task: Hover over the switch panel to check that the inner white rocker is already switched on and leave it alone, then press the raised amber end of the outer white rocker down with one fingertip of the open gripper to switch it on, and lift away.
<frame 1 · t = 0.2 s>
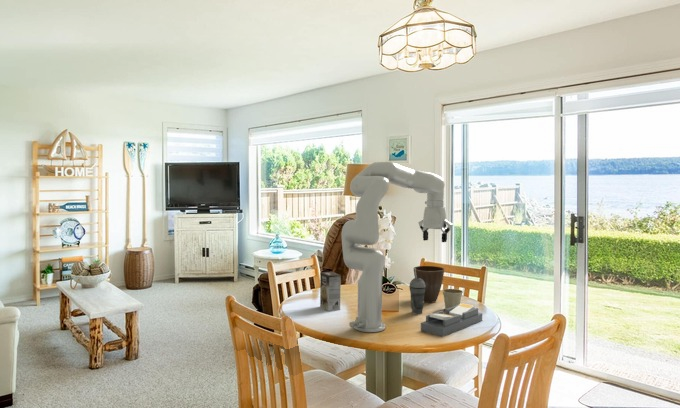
hand: (434, 241, 210), 31 cm above the table, tool pointing down, fingers open, 9 cm apart
switch panel: (452, 325, 185), on the table
coffee box: (330, 308, 209), on the table
outer rocker: (461, 310, 189), point 5 cm above the table, hinge at -11.5°
beverage cup: (417, 313, 203), on the table
plant pot: (428, 301, 225), on the table
inner rocker: (443, 316, 179), point 5 cm above the table, hinge at 11.5°
flower pot: (452, 310, 209), on the table
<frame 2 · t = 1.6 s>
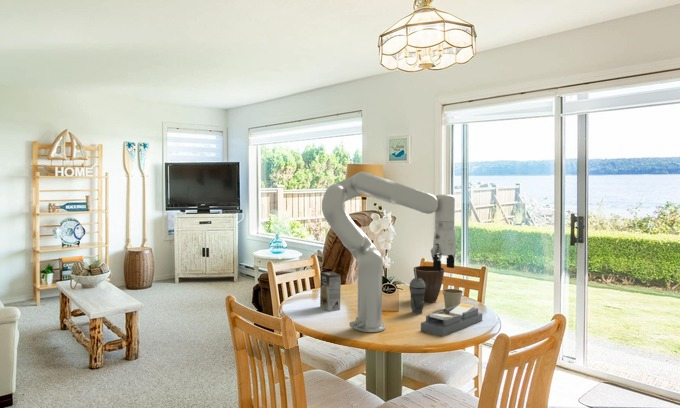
hand: (443, 269, 180), 23 cm above the table, tool pointing down, fingers open, 9 cm apart
nothing on the table moved.
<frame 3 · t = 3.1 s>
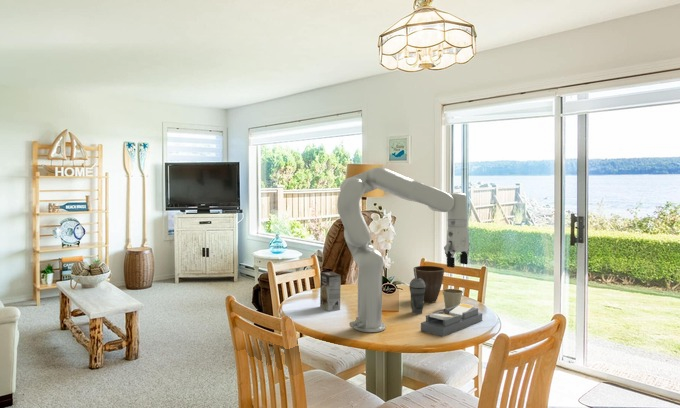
hand: (457, 265, 185), 24 cm above the table, tool pointing down, fingers open, 9 cm apart
nothing on the table moved.
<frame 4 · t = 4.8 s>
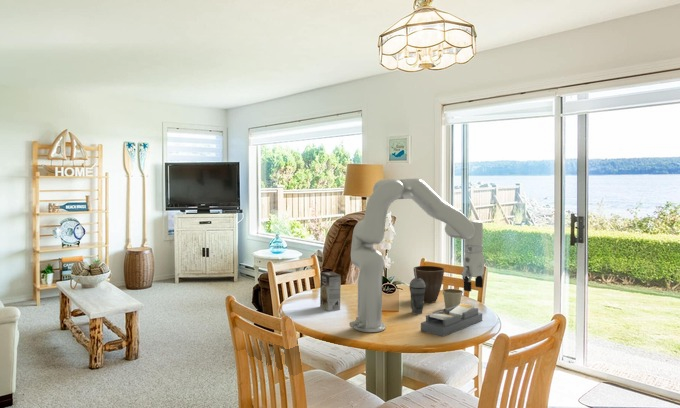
hand: (473, 288, 195), 12 cm above the table, tool pointing down, fingers open, 9 cm apart
nothing on the table moved.
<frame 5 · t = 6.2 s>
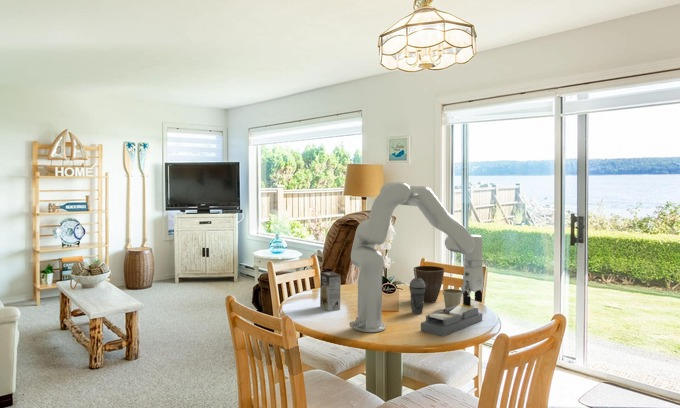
hand: (472, 303, 195), 6 cm above the table, tool pointing down, fingers open, 9 cm apart
outer rocker: (461, 310, 189), point 5 cm above the table, hinge at -11.5°, touching gripper
everything else where it was.
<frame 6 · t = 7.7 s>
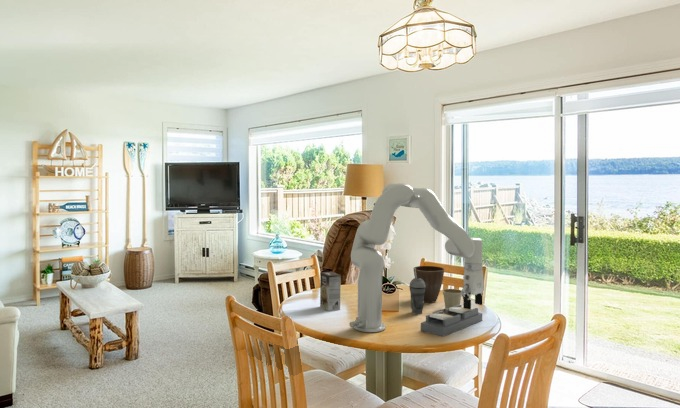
hand: (472, 306, 196), 5 cm above the table, tool pointing down, fingers open, 9 cm apart
outer rocker: (461, 310, 189), point 5 cm above the table, hinge at 9.0°, touching gripper
everything else where it was.
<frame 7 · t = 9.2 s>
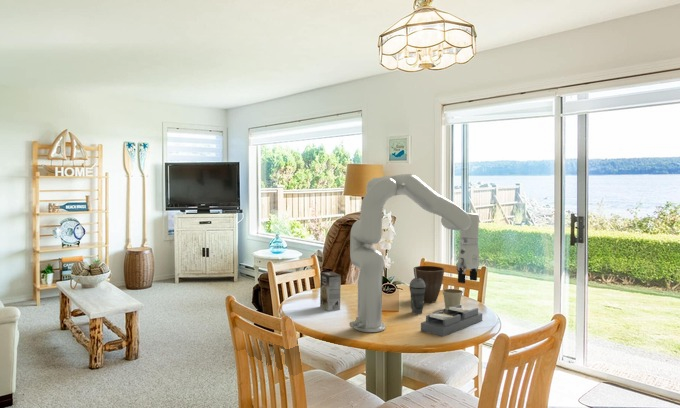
hand: (467, 281, 195), 16 cm above the table, tool pointing down, fingers open, 9 cm apart
outer rocker: (461, 310, 189), point 5 cm above the table, hinge at 14.5°, touching switch panel
everything else where it was.
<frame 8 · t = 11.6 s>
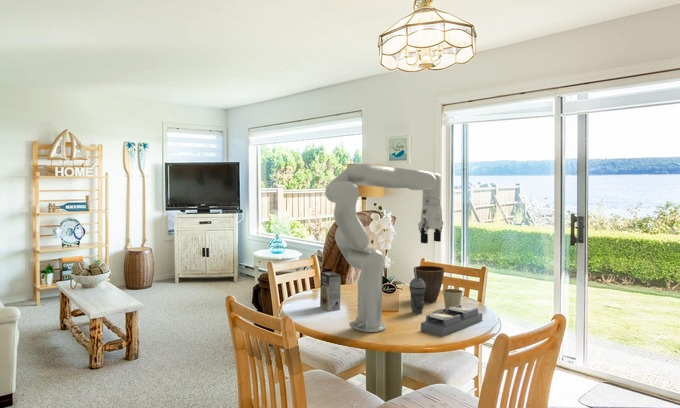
hand: (430, 242, 195), 32 cm above the table, tool pointing down, fingers open, 9 cm apart
nothing on the table moved.
at the end: outer rocker at +14° (first picture: -12°); inner rocker at +12° (first picture: +12°) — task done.
